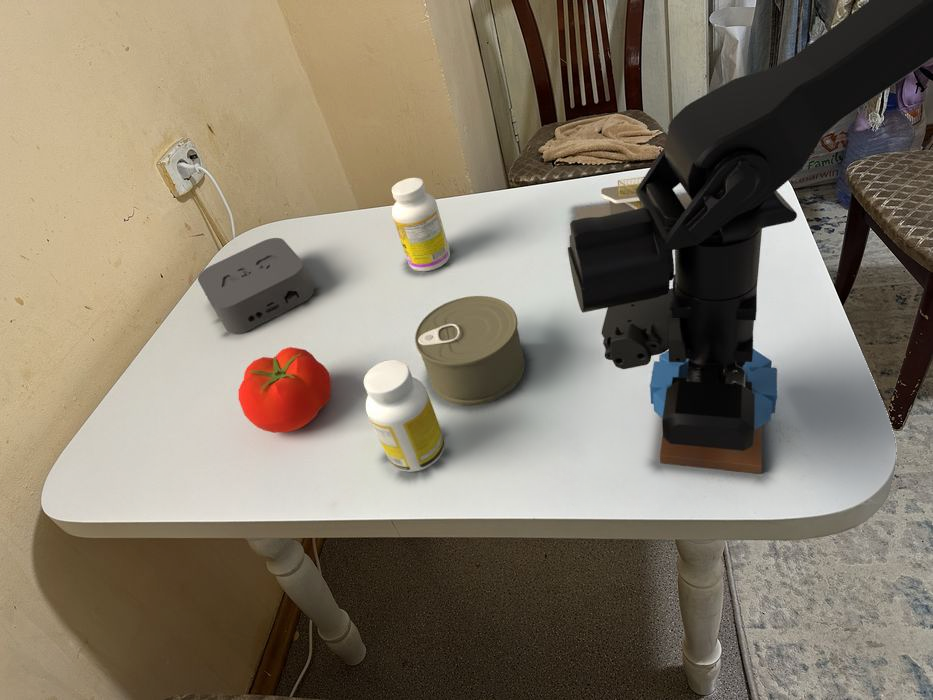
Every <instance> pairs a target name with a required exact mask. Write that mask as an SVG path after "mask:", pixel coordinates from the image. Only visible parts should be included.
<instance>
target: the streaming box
mask: <svg viewBox="0 0 933 700" xmlns="http://www.w3.org/2000/svg"><path fill="white" fill-rule="evenodd" d="M197 281H198V284H199V285H200V287H201V289H202V290H203V293H204V294H205V296H206V298H207V300H208V301H209V303H210V305H211V308H212V309H214V312H215V313H216V316H217V317H218V319H219V321H220V323H221V324H222V325H223V327H224V329H225V330H226V332H228V333H229V334H242V333H245V332H247V331H250V330H252V329H254V328H256V327H257V326H260V325H262V324H263V323H265V322H267V321H269V320H271V319H273V318H275V317H277V316H279V315H281V314H283V313H285V312H287V311H290V310H292V309H293V308H294V307H297V306H299V305H301V304H302V303H304V302H306V301H307V300H309V299H311V297H312V296H313V295H314V293H315V286H314V284H313V282H312V279H311V278H310V275H309V273H308V271H307V269H306V266H305V264H304V262H303V260H302V259H301V258H300V256H298V254H297V253H296V252H295V251H294V250H293V249H292V248H291V246H290V245H289V244H288V243H287V242H286V241H285V240H284V238H280V237H271V238H267V239H264V240H262V241H260V242H257V243H256V244H254V245H251V246H249V247H247V248H245V249H243V250H241V251H239V252H237V253H235V254H232V255H230V256H228V257H226V258H224V259H221V260H220V261H217V262H216V263H213V264H211V265H210V266H208V267H205V269H204V270H202V271H201V272H199V275H198V277H197Z"/></svg>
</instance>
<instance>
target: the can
mask: <svg viewBox="0 0 933 700" xmlns="http://www.w3.org/2000/svg"><path fill="white" fill-rule="evenodd" d="M518 325H519V323H518V317H517V313H516V312H515V309H513V307H512V306H511V305H510V304H509V303H508V302H506V301H504V300H502V299H499V298H496V297H493V296H486V295H471V296H465V297H460V298H456V299H453V300H450V301H447V302H445V303H442V304H441V305H439V306H438V307H436V308H434V309H433V310H431V312H429V313H428V314H427V315H425V317H424V318H423V319H422V320H421V321H420V323H419V324H418V326H417V329H416V330H415V334H414V335H415V336H414V342H415V346H416V349H417V351H418V352H419V354H420V356H421V358H422V361H423V364H424V367H425V369H426V372H427V375H428V377H429V380H430V384H431V387H432V389H433V390H434V392H435V393H436V394H437V395H438V396H439V397H440V398H441V399H442V400H444V401H446V402H448V403H451V404H455V405H459V406H476V405H483V404H487V403H490V402H493V401H496V400H497V399H500V398H502V397H503V396H505V395H506V394H508V393H509V392H510V391H512V390H513V389H514V388H515V387H516V386H517V384H518V383H519V382H520V381H521V379H522V377H523V375H524V372H525V368H526V367H525V364H526V363H525V358H524V354H523V353H524V352H523V348H522V344H521V338H520V333H519V328H518Z"/></svg>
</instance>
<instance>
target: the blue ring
mask: <svg viewBox="0 0 933 700" xmlns="http://www.w3.org/2000/svg"><path fill="white" fill-rule="evenodd" d="M658 355H659V356H658V358H659V359H658V361H656V360H654V361H653V366H652V372H651V378H650V384H649V392H650V393H649V394H650V404H651V405H653V412H655V413H656V414H657V415H658V416H659V417H660V418H661V419H662V418H663V411H664V404H665V397H666V389H667V388H668V387H669V386H671V385H672V377H683V378H687V371H688V362H689V359H686V362H685V363H680V362H669V349H668V350H667V351H666V352H664V353H662V354H658ZM772 365H773V361H772V360H771V359H769V357H766V356H765V355H763V354H762V353H761V352H759V351H757V350H756V349H754V348H753V357H752V362H745V364H744V366H743V367H742V368H743V369H744V370H745V381H748V382H752V393H754V394H755V422H754V430H755V429H757V428H758V427H760V426H762V427H763V425H765V424H767V423H768V422H770V421H771V420H772V419H771V418H772V414H775V413H776V410H777V401H778V369H777V367H772Z"/></svg>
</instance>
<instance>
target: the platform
mask: <svg viewBox="0 0 933 700" xmlns="http://www.w3.org/2000/svg"><path fill="white" fill-rule="evenodd" d="M644 177H645V176H640V177H633V178H632V177H631V178H624V179H618V180H617V186H608V187H603V188H601V190H600V191H601V198H602V199H605V200H607V201H609V203H607V204H599V205H591V206H583V207H576V220H578V219H582V218H587V217H603V216H608V215H612V214H617V213H621V212H626V211H630V210H635V209H640V208H641V202H640V200H639V198H638V196H637V194H636V189H637V187H638V186H639V184H640V183H641V181H642V180H643V178H644ZM636 180H637V181H636ZM629 181H630V182H629ZM676 195H677V197H678V198H679V200H680V202H681V203H682V205H683V206H684V208H685V209H686V208H687V207H688V205H689V204H690V203H691V201H692V200H691V198H690V197H689V195H688V194H687V193H685V194H676Z"/></svg>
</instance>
